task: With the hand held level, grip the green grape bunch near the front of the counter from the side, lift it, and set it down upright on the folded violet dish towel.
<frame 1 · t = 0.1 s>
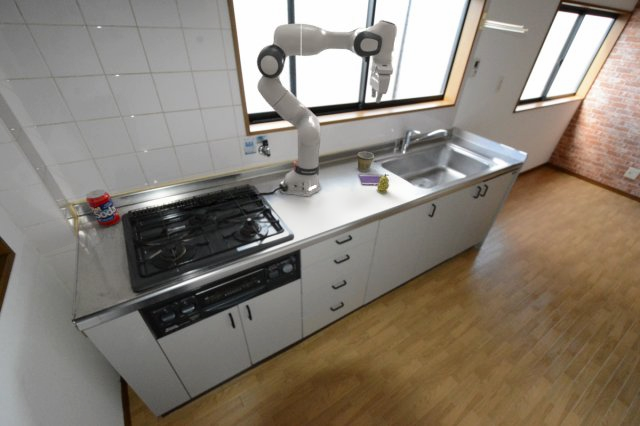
hand: (375, 99, 126), 48 cm above the counter, tool pointing down, fingers open, 8 cm apart
towel: (372, 180, 163), on the counter
ceramic cup: (364, 168, 175), on the counter
soda can: (110, 222, 120), on the counter
green grape bunch: (381, 191, 153), on the counter
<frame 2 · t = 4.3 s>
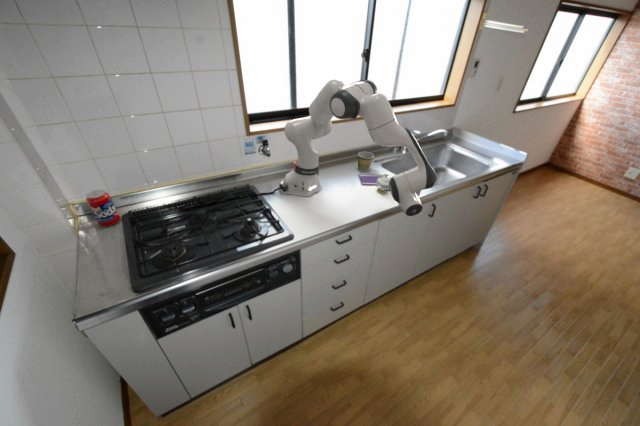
hand: (393, 176, 134), 16 cm above the counter, tool horizontal, fingers open, 8 cm apart
nothing on the counter moved.
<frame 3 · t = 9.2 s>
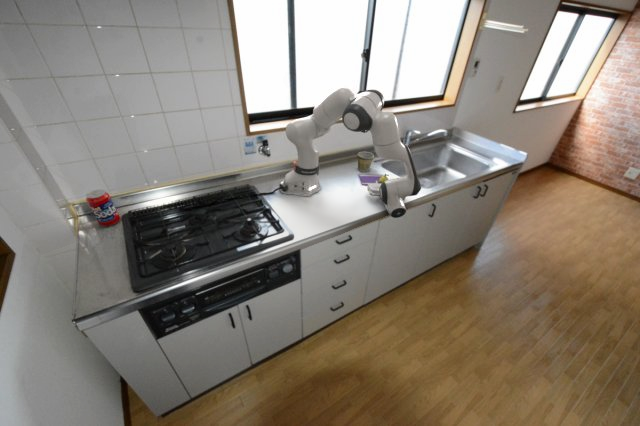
hand: (383, 181, 151), 5 cm above the counter, tool horizontal, fingers closed on green grape bunch, 6 cm apart
green grape bunch: (381, 191, 153), on the counter, touching gripper
everything else where it was.
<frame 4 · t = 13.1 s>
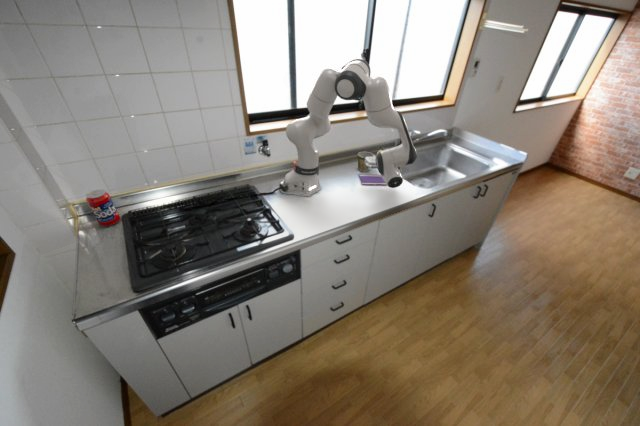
hand: (380, 156, 151), 17 cm above the counter, tool horizontal, fingers closed on green grape bunch, 6 cm apart
green grape bunch: (379, 165, 153), point 11 cm above the counter, touching gripper
everything else where it was.
when the fingers open (6 cm above the counter, at t = 17.2 s): green grape bunch stays where it is, resting on towel.
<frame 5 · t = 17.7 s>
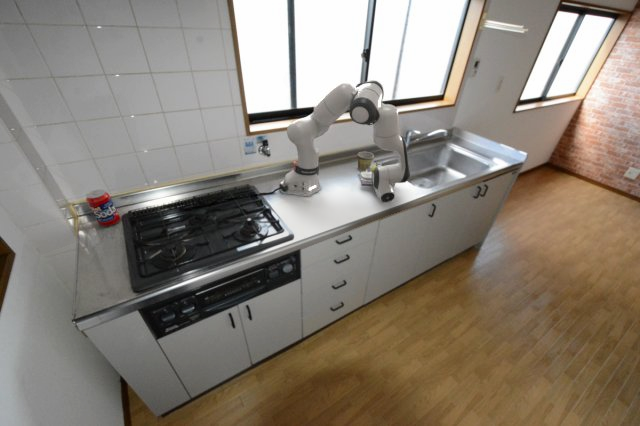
hand: (374, 170, 160), 6 cm above the counter, tool horizontal, fingers open, 8 cm apart
green grape bunch: (373, 179, 163), resting on towel
everything else where it was.
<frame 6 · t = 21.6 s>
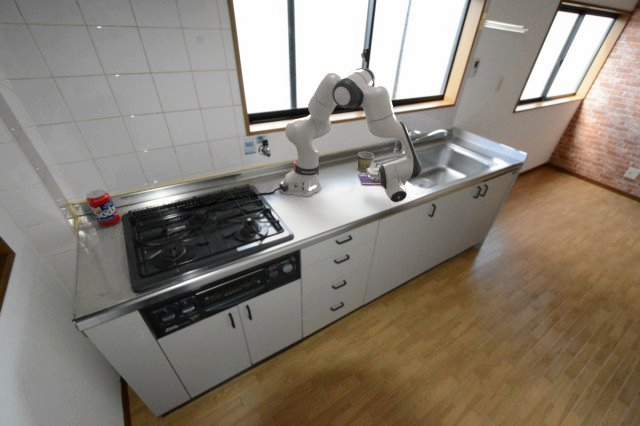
hand: (382, 166, 145), 15 cm above the counter, tool horizontal, fingers open, 8 cm apart
nothing on the counter moved.
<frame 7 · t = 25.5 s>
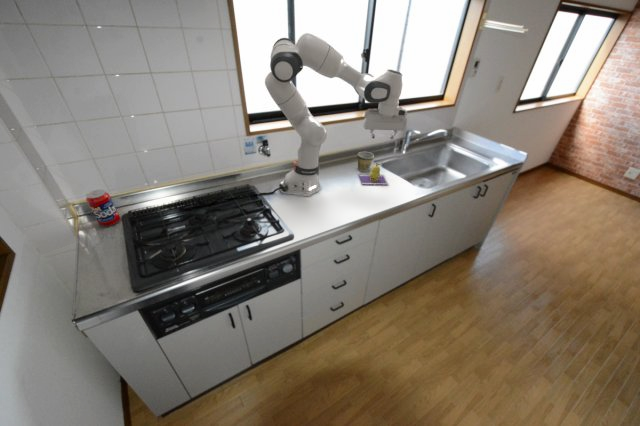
hand: (382, 138, 133), 31 cm above the counter, tool pointing down, fingers open, 8 cm apart
nothing on the counter moved.
at the end: green grape bunch inside the target area on the towel (0.6 cm from its centre), point 0.3 cm above the towel's base; green grape bunch tilted 0°; the gripper is holding nothing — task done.
